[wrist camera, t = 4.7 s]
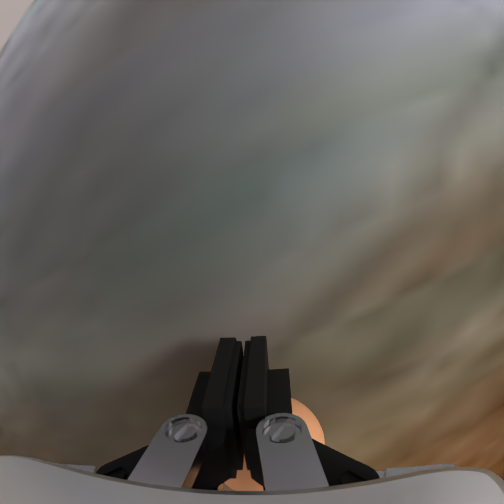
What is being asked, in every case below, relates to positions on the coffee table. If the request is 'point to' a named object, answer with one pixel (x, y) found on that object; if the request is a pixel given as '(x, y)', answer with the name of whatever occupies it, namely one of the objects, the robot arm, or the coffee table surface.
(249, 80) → the coffee table surface
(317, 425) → the ball
